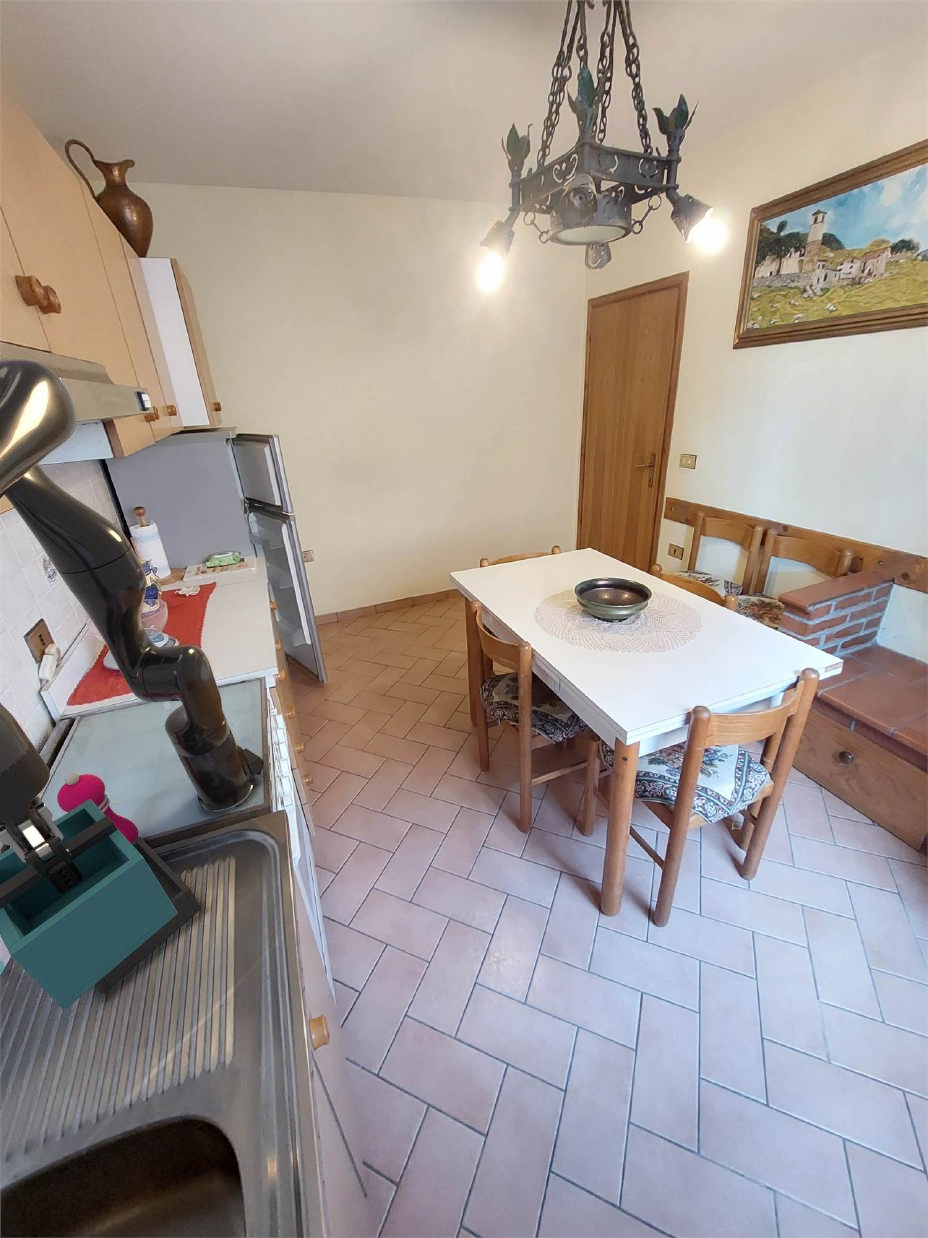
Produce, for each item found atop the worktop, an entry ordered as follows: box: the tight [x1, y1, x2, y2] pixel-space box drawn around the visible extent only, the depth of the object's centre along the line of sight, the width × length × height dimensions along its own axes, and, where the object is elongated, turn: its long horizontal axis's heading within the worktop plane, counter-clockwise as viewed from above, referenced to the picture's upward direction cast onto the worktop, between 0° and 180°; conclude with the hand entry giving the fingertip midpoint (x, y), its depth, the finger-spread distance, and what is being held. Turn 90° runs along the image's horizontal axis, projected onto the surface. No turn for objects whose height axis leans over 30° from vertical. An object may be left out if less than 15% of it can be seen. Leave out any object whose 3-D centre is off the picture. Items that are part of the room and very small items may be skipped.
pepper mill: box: [56, 772, 139, 843], centre depth 80 cm, size 7×7×20 cm
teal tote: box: [0, 799, 178, 1011], centre depth 54 cm, size 11×14×11 cm
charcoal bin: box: [95, 836, 202, 994], centre depth 74 cm, size 14×17×6 cm
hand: (67, 878), depth 53 cm, fingers closed on teal tote
